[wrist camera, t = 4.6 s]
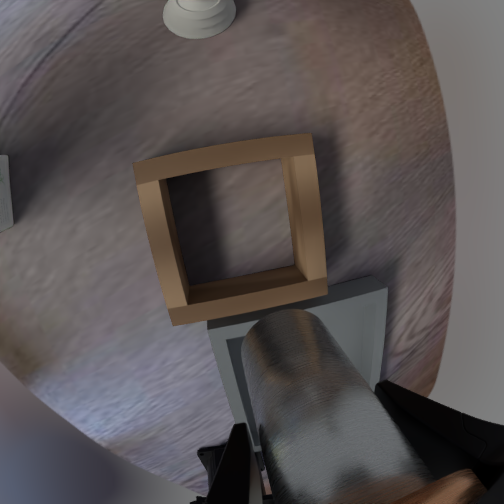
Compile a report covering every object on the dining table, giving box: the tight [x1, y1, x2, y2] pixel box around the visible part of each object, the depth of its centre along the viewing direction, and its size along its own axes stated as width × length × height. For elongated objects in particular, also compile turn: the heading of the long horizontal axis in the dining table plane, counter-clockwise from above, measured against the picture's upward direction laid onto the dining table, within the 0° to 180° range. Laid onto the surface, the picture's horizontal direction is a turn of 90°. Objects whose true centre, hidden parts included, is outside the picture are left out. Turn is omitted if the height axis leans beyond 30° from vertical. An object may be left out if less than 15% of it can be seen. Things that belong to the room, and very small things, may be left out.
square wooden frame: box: [133, 133, 328, 326], centre depth 18 cm, size 10×10×3 cm
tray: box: [207, 275, 388, 452], centre depth 23 cm, size 15×13×2 cm
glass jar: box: [241, 309, 487, 504], centre depth 8 cm, size 6×6×10 cm
